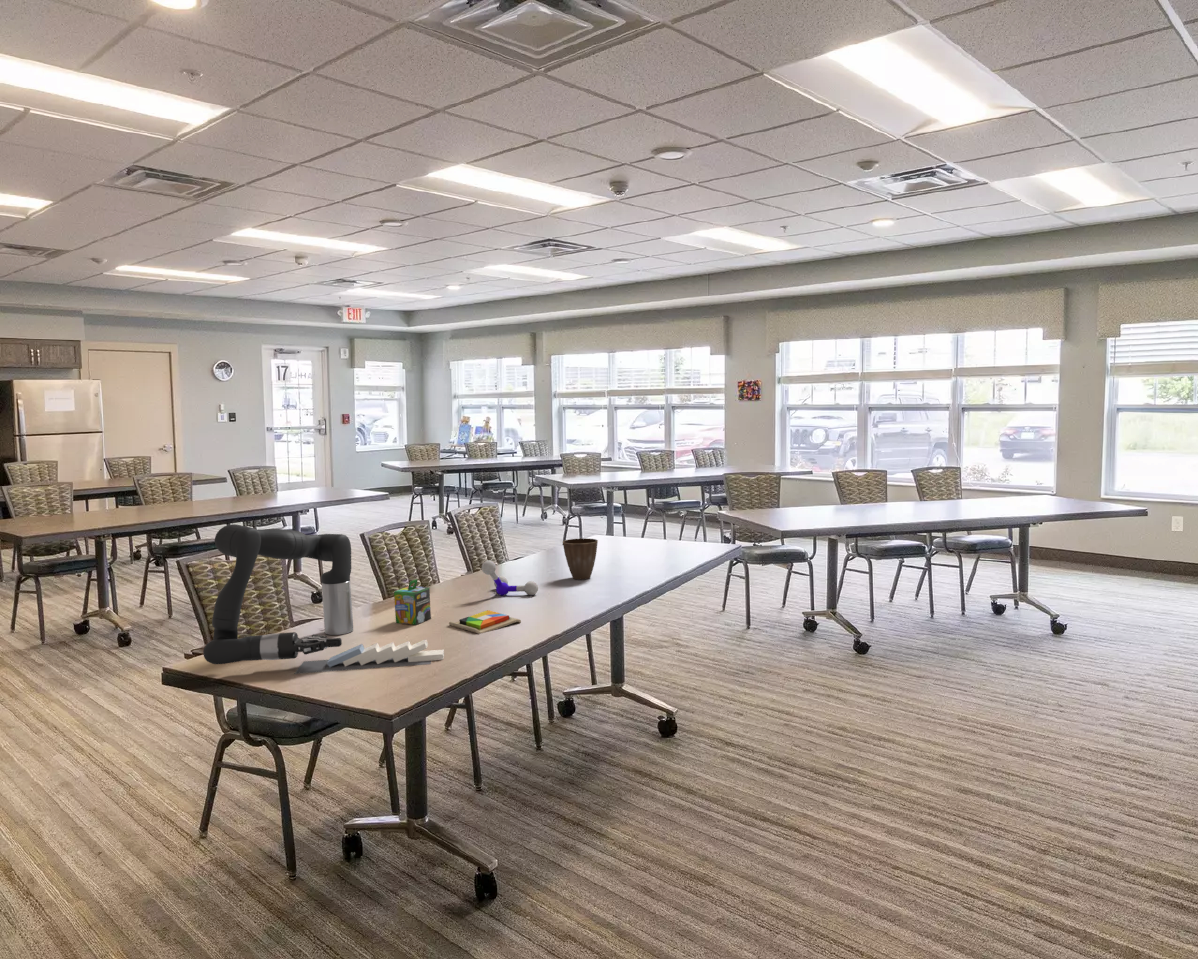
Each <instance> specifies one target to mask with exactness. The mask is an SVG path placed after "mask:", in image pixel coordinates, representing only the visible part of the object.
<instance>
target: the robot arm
mask: <svg viewBox="0 0 1198 959" xmlns="http://www.w3.org/2000/svg"><path fill="white" fill-rule="evenodd" d="M214 545H215V547H216V549H217V550H218V551H219V552H220V553H221V554H223V555H225V556H228V557H233V558H235V566H234V568H233V571H232V574H231V576H230V577H229V578H228V580H227V582H226V583H225V584H224V585H223V587H222V589H221V590H220V592H219V593H218V595H217V597H216V600H215V603H214V609H213V613H212V619H211V625H212V627H213V628H214V629H213V630H214V631H213V637H212V638H213V639H212V640H211V641H209V642H207V643H206V644H205V646H204V648H203V652H202V654H203V658H204V660H205V661H206V662H208V663H209V664H211V665H226V664H231V663H232V664H233V663H239V662H245V661H249V662H250V661H263V660H264V661H277V660H293V659H294V660H295V659H297V657H298V655H299V653H302V654H303V655H309V654H313V653H316V652H322V651H324V650H326V649H328V648H337V647H338V648H339V647H341V646H342V645H343V642H342V640H343V639H342V638H341V637H333V638H328V636H326V635H329V636H330V635H331V636H337V635H338V636H339V635H346V634H349V633H351V632H353V631H354V619H353V618H354V617H353V604H352V603H353V602H352V590H351V589H352V588H351V573H352V543H351V541H350V538H349V537H348V536H347V535H346V534H342V533H341V534H340V533H323V534H312V535H311V534H309V535H308V534H305V533H303V532H302V531H299V530H295V529H294V530H293V529H280V528H279V529H277V528H276V529H273V528H271V529H269V528H266V529H260V528H259V529H256V528H254V527H251V526H246V525H239V524H226V525H224V526H223V527H221V528H220V529H219V530H218V531H217V533H216V534H215V536H214ZM258 556H262V557H265V558H266V557H267V558H272V559H278V560H289V561H290V560H292V561H293V560H298V559H303V558H308V559H313V560H316V561H322V562H331V569H330V570H328V571H325V572H323V573H322V574H321V576H320V577H321V578H320V581H321V582H320V583H321V592H322V593H321V594H322V609H323V624H324V625H323V626H324V634H326V635H320V634H314V633H313V634H311V635H309V636H308V635H307V636H306V635H305V636H303V637H301V638H299V635H298V633H297V632H294V631H293V632H292V631H291V632H278V633H277V632H276V633H268V634H260V635H249V636H244V637H242V638H239V637H238V633H239V632H238V629H239V628H238V626H239V625H238V624H239V621H240V616H241V610H242V605H243V600H244V596H245V594H246V590H247V587H248V583H249V581H250V579H251V575H252V573H253V570H254V567H255V564H256V563H257V562H256V561H257V557H258Z"/></svg>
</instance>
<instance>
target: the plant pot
mask: <svg viewBox="0 0 1198 959" xmlns="http://www.w3.org/2000/svg"><path fill="white" fill-rule="evenodd" d="M598 542H599V539H596V538H584V537H583V538H571V539H566V540H563V541H562V546H563V551H564V556H565V560H566V563H567V567H568V568H569V569H568V570H569V572H570V574H571V577H572V579H573V580H576V581H577V580H578V581H579V580H580V581H582V580H588V579H591V576H592V574H593V570H594V567H595V564H596V563H595V562H596V557H597V553H598V552H597V551H598V550H597V549H598Z"/></svg>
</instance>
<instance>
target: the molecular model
mask: <svg viewBox="0 0 1198 959" xmlns="http://www.w3.org/2000/svg"><path fill="white" fill-rule="evenodd" d="M496 569H497V565H496V563H495V562H494V561H493V560H486V561H483V563H482V565H481V570H482V572H483V574H485V575H487V576H489V575H490V577H491V579H492V580H493V583H494V587H495V592H496V593H497V594H498V595H499V596H502V597H503V596H506V595H508V593H509V592H515V593H516V592H518V593H519V592H524V593H525V594H526V595H528V596H534V595H536V594H537V593H538V591H539V585H538V584H537V582H535V581H532V580H531V581H527V582H526V583H524V584H525V585H524V584H523V585H509V584H508V582H509V581H508V579H507V578H506V576H501V575H500V576H499V575H498V574H497V572H496Z"/></svg>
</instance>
